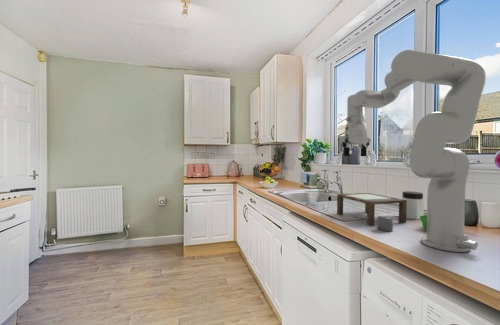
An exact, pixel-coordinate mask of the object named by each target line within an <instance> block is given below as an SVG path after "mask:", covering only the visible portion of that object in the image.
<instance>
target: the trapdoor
mask: <svg viewBox="0 0 500 325" xmlns="http://www.w3.org/2000/svg"><path fill="white" fill-rule="evenodd" d="M353 194H354V195H346V196H351V197H355V198H359V199H364V200H368V201H383V200H395V199H391V198H387V197H388V196H387V197H382V196H383V195H382V196H377V195H378V194H376V195H371V194H372V193H371V194H358V193H353Z"/></svg>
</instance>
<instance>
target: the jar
mask: <svg viewBox="0 0 500 325" xmlns="http://www.w3.org/2000/svg"><path fill="white" fill-rule="evenodd" d="M401 199H403V200H407V210H406V220H407V219H408V220H416V221H417V220H421V219H420V216H423V215H425V214H424V212H425V211H424V210H425V199H424V193H423V192H420V191H412V190H411V191H409V190H408V191H407V190H406V191H405V190H404V191H402V196H401Z"/></svg>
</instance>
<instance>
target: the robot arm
mask: <svg viewBox="0 0 500 325" xmlns="http://www.w3.org/2000/svg"><path fill="white" fill-rule="evenodd" d="M390 64H391V65H390V68H391V70H390V72H388V73H387V74H386V75H385V77H384V85H385V88H384V89H382V90H381V91H377V90H368V89H363V90H362V89H360V90H359V91H358V92H355V94H351V95H349V96H348V97H347V99H346V100H347V103H346V105H347V111H346V113H347V115H346V116H347V117H346V118H345V121H346V124H345V129H344V135H343V136H341V137H340V138H339V139H338V140H339V143H340V145H341V147H342V148H343V156H344V157H350V146H351V145H360V147H361V148H360V157H367V149H368V146H370V144H371V142H372V139H371V138H369V137H368V130H367V129H368V128H367V124H366V123H365V108H368V109H369V108H371V109H381V108H384V107H385V106H388V105H389V104H391V103H393V102H394V101H396V99H397V98H398V97H399V96H400V93H401V91H402V90H404V89H406V88H408V87H410V86H411V85H413V84H415V83H416V82H420V83H422V84H423V83H425V84H431V85H439V86H441V85H442V86H449V87H451V88H450V89H449V90H448V91H447V93H446V94H445V97H444V99H443V101H442V102H443V103H442V107H441V111H434V112H433V111H432V112H430V113H428V114H425V115H424V116H422V118H420V120H419V121H418V123H417V125H416V127H415V131H414V134H413V139H412V140H413V141H412V145H411V150H410V154H409V160H408V161H409V163H408V164H409V168H410V170H411V172H412V173H413V174H414V175H415V176H417V177H419V178H424V179H425V178H427V179H430V180H429V182H428V187H427V193H426V194H427V195H426V206H427V207H426V215H427V230H426V235H423V236H422V237H421V238H420V242H421V243H422V244H423V245H425V246H427V247H430V248H433V249H436V250H437V249H438V250H442V251H446V252H454V253H455V252H456V253H467V252H470V251H471V250H472V251H476V250H477V248H478V242H477V241H472V240H470V239H469V235H468V234H466V233H465V210H466V208H465V206H466V205H465V204H466V202H465V201H466V186H467V185H466V184H467V180H468V176H469V171H470V166H471V164H470V159H469V157H468V155H467V154H466V153H465V152H464V151H462V150H460V149H458V148H453V147H446V145H447V144H448V145H450V144H452V145H456V144H462V143H464V142H466V141H467V140H469V139H470V137H471V136H472V133H473V130H474V126H475V122H476V118H477V113H478V112H479V111H478V109H479V106H480V101H481V97H482V94H483V91H484V89H485V86H486V82H487V72H486V69H485V68H484V66H483V65H482V64H480V63H479V62H477V61H475V60H473V59H469V58H465V57H460V56H459V57H458V56H453V55H445V54H439V53H432V52H425V51H420V50H415V49H404V50H402V51H400V52H398V53H397V54H396V55H395V56H394V58H393V59H392V61H391V63H390Z"/></svg>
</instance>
